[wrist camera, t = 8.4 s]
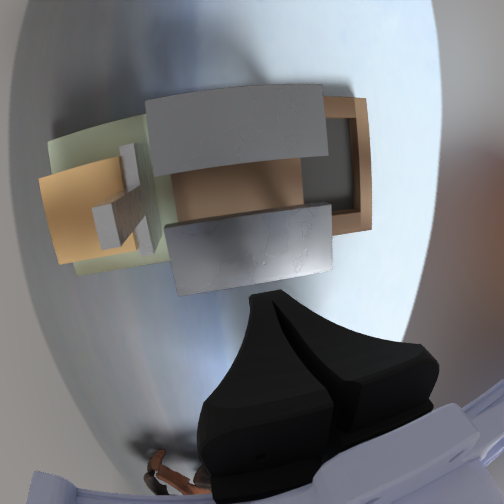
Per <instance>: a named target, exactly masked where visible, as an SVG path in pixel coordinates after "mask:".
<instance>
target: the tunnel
mask: <svg viewBox="0 0 504 504" xmlns="http://www.w3.org/2000/svg"><path fill="white" fill-rule="evenodd" d="M145 110H146V119H147V128H148V136H149V144H150V151H151V158H152V165H153V172H154V177H157V176H162V175H167V174H173V173H179V172H185V171H191V170H197V169H204V168H211V167H218V166H225V165H232V164H240V163H249V162H258V161H267V160H277V159H288V158H301V157H315V156H329V154H328V141H327V129H326V119H325V109H324V100H323V91H322V84H277V85H256V86H241V87H230V88H220V89H212V90H204V91H196V92H190V93H183V94H177V95H171V96H166V97H161V98H156V99H151V100H146V101H145ZM164 234H165V239H166V244H167V248H168V253H169V258H170V262H171V267H172V271H173V276H174V280H175V284H176V288H177V293H178V296H184V295H190V294H197V293H203V292H210V291H216V290H222V289H229V288H235V287H241V286H247V285H253V284H259V283H265V282H270V281H276V280H282V279H287V278H293V277H299V276H304V275H309V274H315V273H320V272H325V271H331V270H332V211H331V204H329V203H327V202H318V203H309V204H301V205H293V206H285V207H277V208H270V209H262V210H255V211H248V212H241V213H234V214H227V215H220V216H214V217H207V218H201V219H195V220H188V221H182V222H176V223H170V224H165V227H164Z"/></svg>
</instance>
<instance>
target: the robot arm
mask: <svg viewBox="0 0 504 504" xmlns="http://www.w3.org/2000/svg"><path fill="white" fill-rule="evenodd" d="M249 304H250V315H249V321H248V326H247V330H246V333H245V337H244V340H243V343H242V345H241V348H240V350H239V352H238V354H237V356H236V358H235V360H234V362H233V364H232V366H231V368H230V369H229V371H228V372H227V374H226V375H225V377H224V378H223V380H222V381H221V383H220V384H219V385H218V387H217V388H216V389H215V390H214V391H213V393H212V394H211V395H210V396H209V397H208V398H207V399H206V400H205V401H204V403H203V406H202V410H201V413H200V417H199V422H198V428H197V449H198V455H199V458H200V460H201V462H202V463H203V465H204V467H205V468H206V470H207V472H208V473H209V475H210V481H211V489H212V493H210V494H196V495H132V494H119V493H109V492H100V491H92V490H86V489H80V488H76V486H75V485H74V484H73V483H71V482H70V481H68V480H67V479H65V478H63V477H61V476H57V475H52V474H48V473H44V472H40V471H34V473H33V477H32V481H31V485H30V489H29V495H28V499H27V503H26V504H504V495H503V493H502V492H501V490H500V489H499V487H498V486H497V484H496V483H495V481H494V480H493V478H492V477H491V475H490V474H489V473H488V471H487V470H486V468H485V467H486V466H487V465H488V464H490V463H491V462H492V461H493V460H494V459H495V458H496V457H497V456H498V455H499V454H501V453H502V452H503V451H504V379H502V380H501V381H500V382H499V383H497V384H496V385H495V386H493V387H492V388H491V389H489V390H488V391H487V392H485V393H484V394H482V395H481V396H480V397H478V398H477V399H475V400H474V401H472V402H471V403H469V404H468V405H466V406H465V407H463V408H462V409H461V408H460V406H458V405H457V404H455V403H450V404H448V405H445V406H442V407H440V408H438V409H436V410H434V411H431V410H432V409H433V407H434V406H433V404H432V402H431V401H430V400H429V397H430V394H431V392H432V390H433V388H434V386H435V383H436V381H437V378H438V374H439V364H438V362H437V360H436V359H435V358H434V357H433V356H432V355H431V354H430V353H429V352H428V351H427V350H426V349H425V348H424V347H423V346H422V345H421V344H411V343H402V342H394V341H389V340H384V339H379V338H375V337H371V336H367V335H364V334H361V333H358V332H355V331H352V330H349V329H347V328H344V327H342V326H340V325H337V324H335V323H333V322H331V321H329V320H327V319H325V318H323V317H321V316H320V315H318V314H316V313H314V312H313V311H311V310H310V309H308V308H306V307H305V306H303V305H302V304H300V303H299V302H298V301H296V300H295V299H293V298H292V297H291V296H289V295H288V294H287V293H285V292H284V291H282V290H275V291H270V292H264V293H259V294H253V295H251V296H250V297H249Z"/></svg>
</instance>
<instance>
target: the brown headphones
mask: <svg viewBox="0 0 504 504" xmlns="http://www.w3.org/2000/svg"><path fill="white" fill-rule="evenodd" d="M165 454H166V452H165V450H158V451H157V452H156V453H155V454H154V456H153V457H151V458H150V460H149V462H148V466H147V471H148V472H147V473H146V474H145V475H144V481H145V483H146V485H147V486H148V488H149V489H150V490H151V491H152V492H153V493H154V494H155V495H169V494H168V491H167V486H166V485H162V484H161V483H159V482H158V481H157V479H156V478H155V477H154V474H155V471H158V473H156V476H157V478H158V479H160V480H162V481H164V482H166V483H168V484H170V485H171V486H173V487H174V488H176V489H177V490H178V491H180V492H181V493H182V494H183V495H196V494H210V493H212V489H211V481H210V475H209V473H208V472H207V470H206V468H205V467H204V465H203V463H202V466H201V467H200V469H199V470H198V471H197V472H196V473H195V476H194V479H193V482H194V484H195V485H193V484H190V483H189V480H190V479H189V478H187V477H185V476H183V475H181V474H180V473H178V472H175V471H173V470H171V469H170V468H168V467H166V466H164V465H162V459H163V457H164V455H165Z"/></svg>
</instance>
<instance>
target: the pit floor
mask: <svg viewBox="0 0 504 504" xmlns="http://www.w3.org/2000/svg"><path fill="white" fill-rule="evenodd" d="M326 129H327V141H328V154H329V156H315V157H301V158H300V161H301V173H302V187H303V201H304V204H309V203H318V202H327V203H329V204H331V211H338V210H347V209H353V176H352V157H351V141H350V129H349V119H341V118H328V119H326Z"/></svg>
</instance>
